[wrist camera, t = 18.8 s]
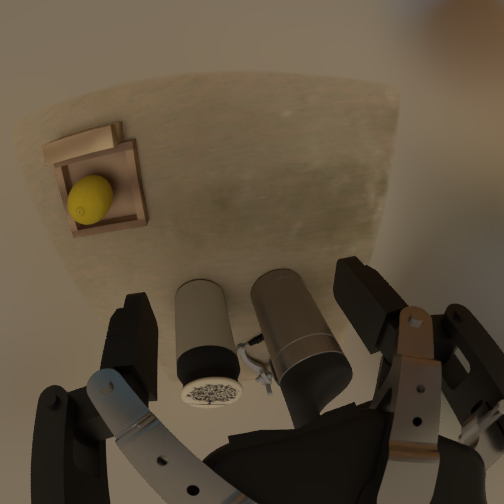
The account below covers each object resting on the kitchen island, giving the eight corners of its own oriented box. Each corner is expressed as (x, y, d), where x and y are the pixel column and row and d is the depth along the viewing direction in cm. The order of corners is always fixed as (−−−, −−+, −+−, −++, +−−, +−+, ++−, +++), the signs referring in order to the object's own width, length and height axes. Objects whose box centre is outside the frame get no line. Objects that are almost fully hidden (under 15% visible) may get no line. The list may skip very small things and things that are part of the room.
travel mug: (184, 272, 40) (189, 374, 25) (231, 285, 44) (257, 381, 29) (169, 309, 43) (171, 405, 29) (213, 319, 47) (229, 411, 32)
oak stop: (123, 140, 28) (113, 147, 24) (62, 156, 27) (45, 166, 23) (121, 121, 27) (110, 125, 23) (59, 138, 26) (42, 145, 21)
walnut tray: (149, 216, 35) (146, 225, 33) (80, 228, 34) (73, 238, 31) (136, 137, 30) (132, 141, 27) (62, 155, 28) (53, 161, 25)
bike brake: (312, 357, 59) (283, 296, 51) (321, 378, 53) (293, 318, 44) (259, 379, 60) (218, 324, 51) (263, 401, 54) (220, 349, 45)
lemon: (121, 204, 33) (107, 233, 26) (85, 209, 32) (64, 238, 25) (116, 164, 30) (97, 184, 23) (78, 171, 29) (53, 192, 22)
